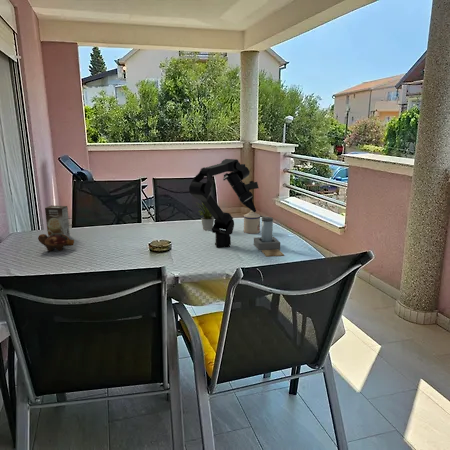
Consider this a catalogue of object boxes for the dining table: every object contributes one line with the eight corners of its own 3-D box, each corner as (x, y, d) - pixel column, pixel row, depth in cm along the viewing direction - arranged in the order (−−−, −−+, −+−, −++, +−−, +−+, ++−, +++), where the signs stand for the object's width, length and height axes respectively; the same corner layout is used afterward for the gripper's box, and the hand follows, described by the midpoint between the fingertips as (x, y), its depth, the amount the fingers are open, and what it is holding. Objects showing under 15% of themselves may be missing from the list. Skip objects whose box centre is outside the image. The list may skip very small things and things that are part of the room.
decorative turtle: (39, 248, 182) (38, 231, 180) (74, 247, 187) (73, 230, 186) (37, 253, 173) (36, 235, 172) (74, 252, 178) (73, 234, 177)
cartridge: (262, 249, 180) (263, 219, 177) (259, 245, 185) (260, 217, 182) (273, 248, 181) (274, 219, 178) (270, 245, 186) (271, 216, 183)
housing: (259, 251, 178) (259, 243, 177) (253, 244, 187) (253, 237, 186) (280, 249, 179) (280, 242, 178) (273, 243, 189) (274, 236, 188)
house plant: (188, 231, 212) (187, 201, 208) (197, 225, 225) (197, 197, 221) (213, 233, 208) (213, 203, 204) (221, 227, 221) (221, 198, 217)
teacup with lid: (261, 233, 206) (262, 212, 204) (244, 234, 206) (244, 212, 203) (257, 228, 218) (258, 207, 215) (241, 228, 217) (241, 208, 214)
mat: (266, 256, 170) (266, 255, 169) (261, 251, 177) (261, 250, 177) (284, 255, 171) (284, 254, 171) (278, 250, 179) (278, 249, 178)
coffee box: (47, 238, 198) (43, 207, 194) (54, 235, 204) (50, 205, 200) (64, 239, 197) (61, 208, 193) (70, 235, 203) (67, 205, 199)
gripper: (252, 173, 176) (271, 202, 177) (249, 174, 194) (266, 201, 196) (231, 187, 176) (250, 216, 178) (231, 187, 195) (248, 213, 196)
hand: (254, 211), depth 187 cm, fingers open, 9 cm apart
